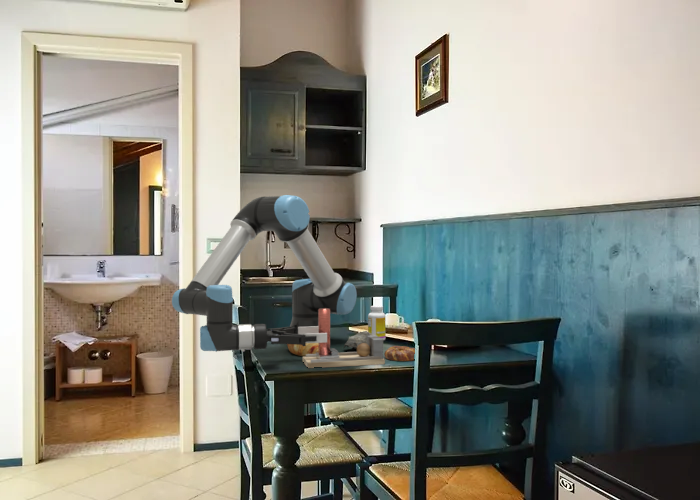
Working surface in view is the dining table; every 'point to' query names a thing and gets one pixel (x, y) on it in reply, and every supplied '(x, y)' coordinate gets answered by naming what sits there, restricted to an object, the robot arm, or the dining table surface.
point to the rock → (357, 339)
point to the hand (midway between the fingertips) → (322, 333)
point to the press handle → (324, 327)
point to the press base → (352, 356)
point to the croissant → (304, 349)
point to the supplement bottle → (377, 322)
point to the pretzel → (400, 353)
